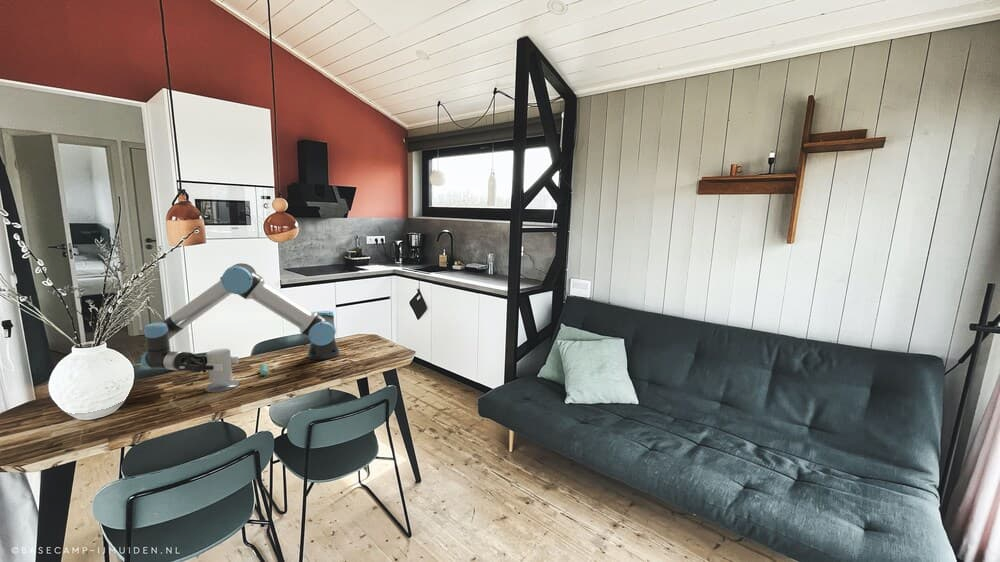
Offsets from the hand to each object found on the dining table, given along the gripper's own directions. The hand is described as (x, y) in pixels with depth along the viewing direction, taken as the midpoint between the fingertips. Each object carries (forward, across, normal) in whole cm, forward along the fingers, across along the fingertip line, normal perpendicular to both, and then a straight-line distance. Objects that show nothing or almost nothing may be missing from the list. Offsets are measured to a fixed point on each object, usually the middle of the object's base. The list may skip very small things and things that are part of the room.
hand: (230, 363), depth 175 cm
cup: (-5, 0, -7) cm, 9 cm away
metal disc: (-5, 0, -10) cm, 11 cm away
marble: (+4, -14, -10) cm, 18 cm away
